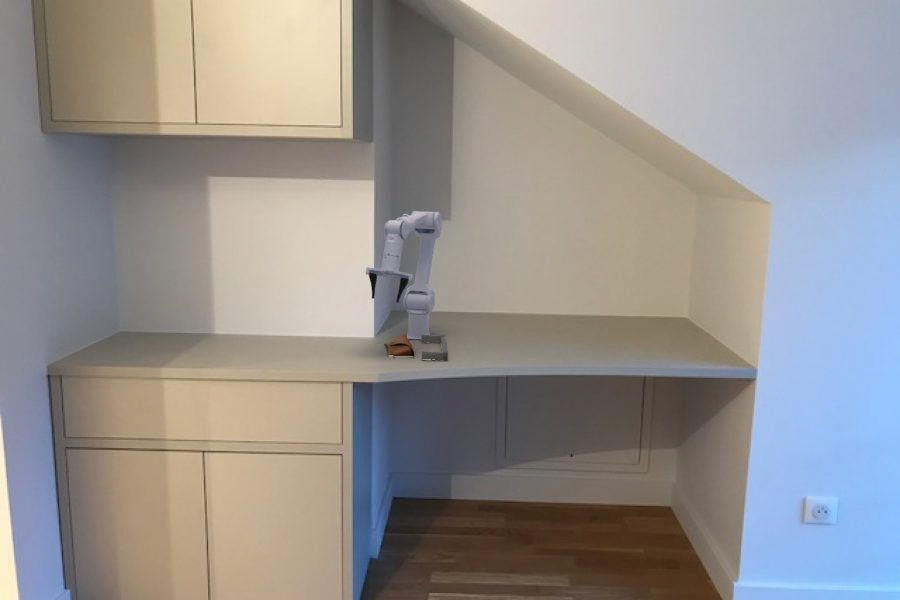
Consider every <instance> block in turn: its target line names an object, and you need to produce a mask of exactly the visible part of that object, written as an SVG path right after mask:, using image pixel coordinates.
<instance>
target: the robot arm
mask: <svg viewBox="0 0 900 600" xmlns="http://www.w3.org/2000/svg"><path fill="white" fill-rule="evenodd" d="M442 225H443V220H442V214H441V213H440V212H439V211H436V212H435V211H417V210H412V212H411V214H410V215H409V214H408V213H403V214H402V216H400V217H397V218H396V219H393V220H392V219H389V220H388V221H386V222H385V224H384V226H383V242H384V248H383V253H382V260H381V266H380V268H378V267H377V268H376V267H368V266H367V267H366V269H365V275H367V276H368V277H369V282H370V287H371V299H373V300H374V299H375V296H376V295H375V294H376V286H377V281H378V277H384V278H390V279H397V280H399V287H398V293H397V297H396V303H397V304H399V302H400V299H401V296H402V294H403V292H404V290H405V289H406V290H405V294H404V296H403V300H402V301H403V302H402V303H403V305H402V306H403V308H404V309H405V310H406V313H408V315H407V316H408V317H407V318H408V321H407V322H408V324H407V327H408V329H407V333H406V337H407V338H408V340H421V335H431V334H430V313H431V312H432V311H434V308H435V297H436V294H435V293H436V292H435V290H434V289H433V288H431V286H429V282H430V277H431V276H430V275H431V271H432V270H431V269H432V264H433V258H434V257H433V255H434V250H435V245H436V239H438V238H440V236H441V233H442ZM412 232H414V234H415V236H416V237H418V238H419V239H420V245H419V252H418V258H417V263H416V268H415V269H416V272H415V277H414V274H413V273H412V274H411V273H408V272H407V273H406V272H404V271H403V272H402V271H400V267H401V261H402V256H403V255H402V253H403V249H404V241H405V240H407V239H408V236H409V234H410V233H412ZM413 277H414V278H415V279H414V282H413V281H412V280H413ZM409 282H413V284H411V285H409V286H408V287H407V285H408V284H409Z"/></svg>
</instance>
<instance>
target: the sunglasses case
mask: <svg viewBox="0 0 900 600" xmlns="http://www.w3.org/2000/svg"><path fill="white" fill-rule="evenodd" d="M384 345H385V346H386V347H385V348H386V351H387V356H388V355H393V356H414V357H415V350H414V348H413V345H412V343H411V341H410V339H408V338H407V334H405V333H404V334H400V335H399V336H398V337H396V338H395V339H393V340H391V341H388V342H386V343H384Z"/></svg>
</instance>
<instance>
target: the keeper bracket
mask: <svg viewBox="0 0 900 600" xmlns="http://www.w3.org/2000/svg"><path fill="white" fill-rule="evenodd" d="M446 340H447V339H446V335H445V334H444V335H443V334H441V335H440V334H430V335H421V339H420V343H421V344H427V343H426V342H429V343H428V344H440V349H441V350H442V351H421V360H422V359H431V360H432V359H435V360H449V359H448V357H449V355H448V354H449V351H448V346H447V341H446Z"/></svg>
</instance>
